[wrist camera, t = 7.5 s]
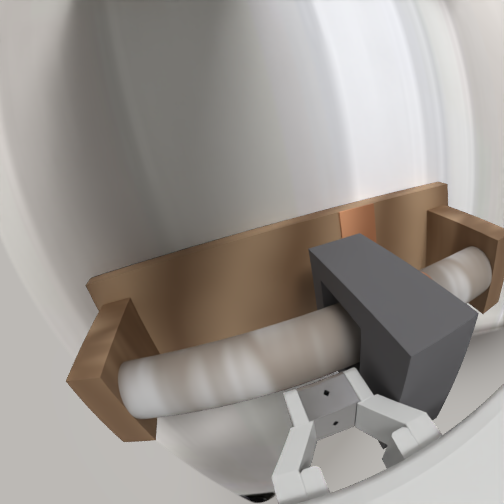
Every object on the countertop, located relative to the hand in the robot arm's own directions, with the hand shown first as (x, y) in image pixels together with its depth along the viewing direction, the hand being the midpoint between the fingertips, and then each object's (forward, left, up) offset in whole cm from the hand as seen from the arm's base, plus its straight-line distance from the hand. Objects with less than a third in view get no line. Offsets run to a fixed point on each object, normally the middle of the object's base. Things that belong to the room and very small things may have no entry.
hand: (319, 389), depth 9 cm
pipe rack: (-1, -2, -8) cm, 9 cm away
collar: (-2, -3, -6) cm, 7 cm away
